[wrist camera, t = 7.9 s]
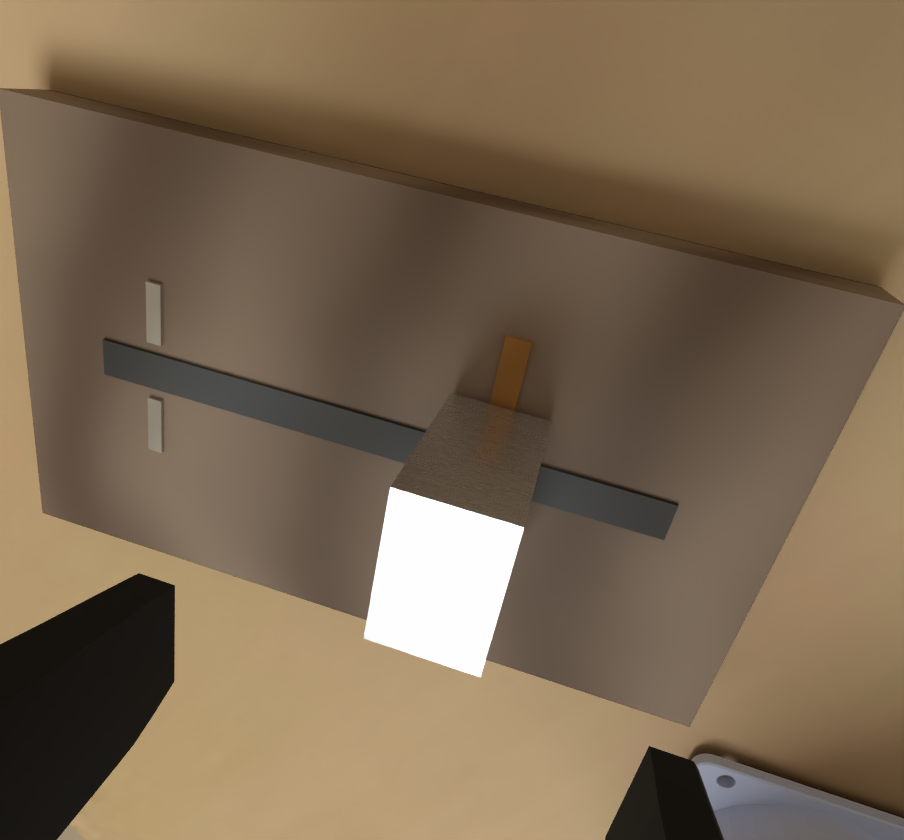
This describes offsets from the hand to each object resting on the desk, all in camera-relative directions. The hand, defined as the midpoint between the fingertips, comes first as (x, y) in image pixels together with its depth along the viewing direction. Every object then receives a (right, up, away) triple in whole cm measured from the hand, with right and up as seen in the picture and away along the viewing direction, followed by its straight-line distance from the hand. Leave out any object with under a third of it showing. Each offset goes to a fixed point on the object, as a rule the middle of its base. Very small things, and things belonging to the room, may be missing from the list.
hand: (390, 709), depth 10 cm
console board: (-1, +4, +8) cm, 9 cm away
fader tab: (+2, +3, +6) cm, 7 cm away
